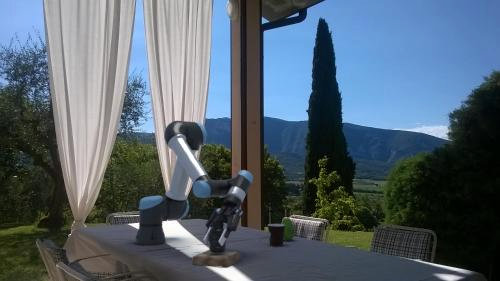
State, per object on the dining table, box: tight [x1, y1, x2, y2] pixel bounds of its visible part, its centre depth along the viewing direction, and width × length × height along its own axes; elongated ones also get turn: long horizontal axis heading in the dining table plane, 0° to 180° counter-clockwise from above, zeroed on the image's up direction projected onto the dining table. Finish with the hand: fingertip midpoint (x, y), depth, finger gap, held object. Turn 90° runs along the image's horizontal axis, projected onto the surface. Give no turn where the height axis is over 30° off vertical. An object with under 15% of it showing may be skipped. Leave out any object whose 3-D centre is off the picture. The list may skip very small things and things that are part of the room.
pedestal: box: [192, 250, 242, 268], centre depth 179 cm, size 15×15×3 cm
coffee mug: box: [267, 223, 285, 247], centre depth 220 cm, size 12×9×10 cm
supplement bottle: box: [208, 220, 227, 253], centre depth 180 cm, size 7×7×12 cm
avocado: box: [281, 217, 296, 242], centre depth 232 cm, size 8×8×12 cm
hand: (212, 242), depth 176 cm, fingers closed on supplement bottle, 7 cm apart
